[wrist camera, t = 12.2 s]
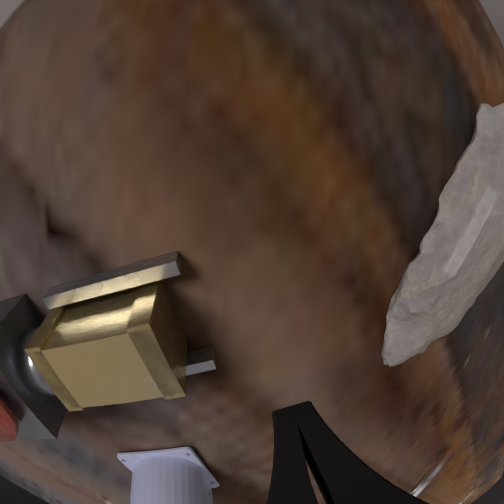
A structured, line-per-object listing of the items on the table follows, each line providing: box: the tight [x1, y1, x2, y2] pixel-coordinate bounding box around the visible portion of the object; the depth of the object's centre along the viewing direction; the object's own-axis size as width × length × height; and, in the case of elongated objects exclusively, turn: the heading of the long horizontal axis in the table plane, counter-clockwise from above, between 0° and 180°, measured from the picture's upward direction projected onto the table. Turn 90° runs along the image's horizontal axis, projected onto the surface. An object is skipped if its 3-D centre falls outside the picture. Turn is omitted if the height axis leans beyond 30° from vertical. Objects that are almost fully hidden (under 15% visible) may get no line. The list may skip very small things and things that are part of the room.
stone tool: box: [381, 103, 504, 366], centre depth 18 cm, size 12×5×25 cm
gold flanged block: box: [24, 280, 187, 411], centre depth 16 cm, size 5×8×5 cm, turn 103°
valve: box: [0, 251, 216, 442], centre depth 15 cm, size 8×22×7 cm, turn 103°
